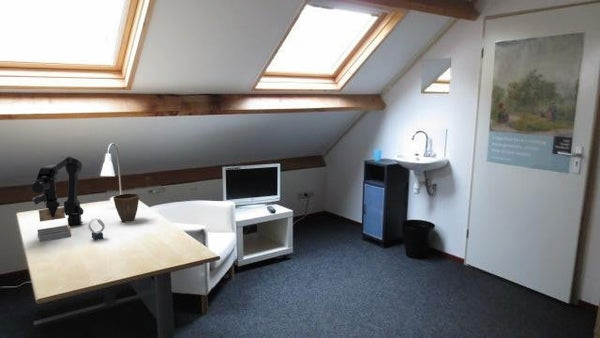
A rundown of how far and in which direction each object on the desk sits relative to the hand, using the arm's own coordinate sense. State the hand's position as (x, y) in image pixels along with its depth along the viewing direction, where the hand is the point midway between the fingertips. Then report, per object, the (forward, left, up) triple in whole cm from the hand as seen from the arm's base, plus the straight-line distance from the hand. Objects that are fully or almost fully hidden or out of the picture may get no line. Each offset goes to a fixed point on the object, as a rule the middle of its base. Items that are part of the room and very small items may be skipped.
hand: (52, 216), depth 227 cm
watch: (-25, +11, -11) cm, 30 cm away
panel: (0, 0, -2) cm, 2 cm away
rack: (0, 0, -11) cm, 11 cm away
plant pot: (-35, -22, -11) cm, 43 cm away
